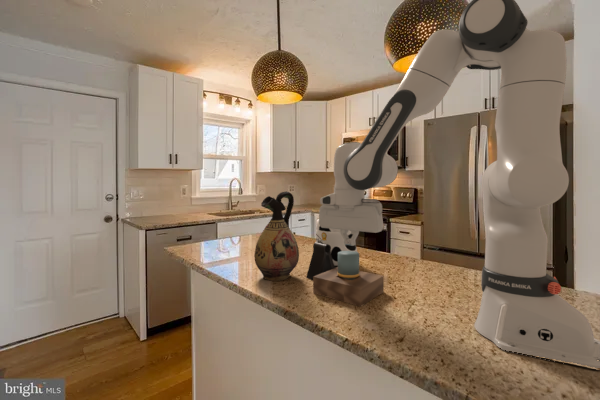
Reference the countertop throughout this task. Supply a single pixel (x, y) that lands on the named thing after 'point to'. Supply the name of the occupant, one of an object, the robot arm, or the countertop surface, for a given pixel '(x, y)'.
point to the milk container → (333, 241)
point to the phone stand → (320, 260)
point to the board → (348, 287)
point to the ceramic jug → (277, 241)
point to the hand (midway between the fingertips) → (349, 245)
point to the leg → (348, 264)
